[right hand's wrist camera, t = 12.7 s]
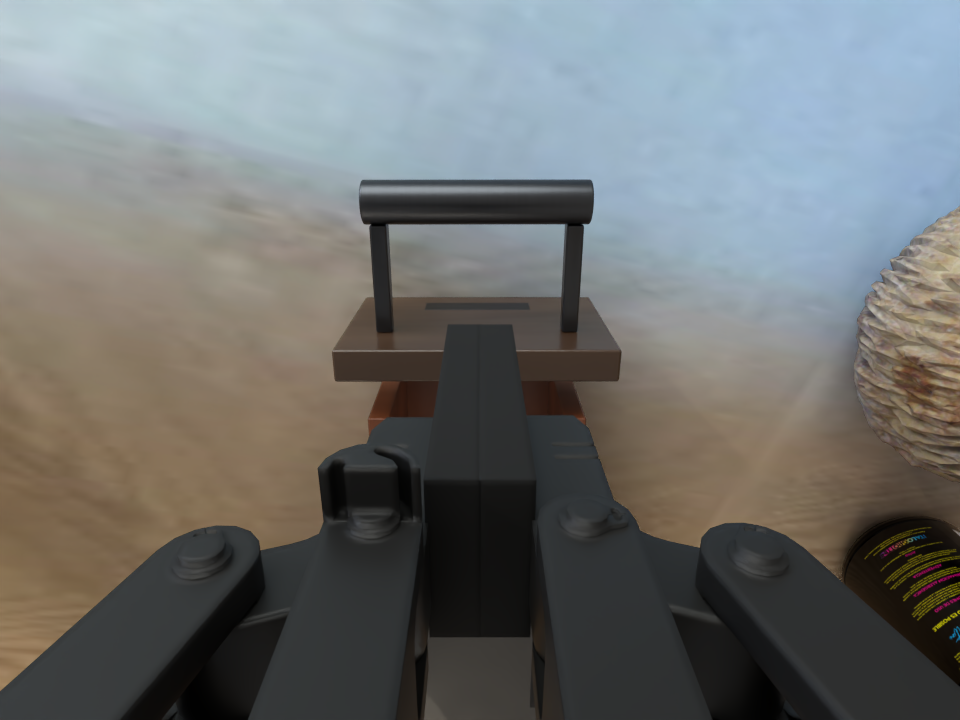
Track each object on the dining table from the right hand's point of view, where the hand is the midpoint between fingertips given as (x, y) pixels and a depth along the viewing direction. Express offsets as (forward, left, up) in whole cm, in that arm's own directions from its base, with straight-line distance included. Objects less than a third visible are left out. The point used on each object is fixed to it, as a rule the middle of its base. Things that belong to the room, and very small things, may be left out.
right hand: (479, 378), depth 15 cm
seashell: (-4, +22, -14) cm, 26 cm away
